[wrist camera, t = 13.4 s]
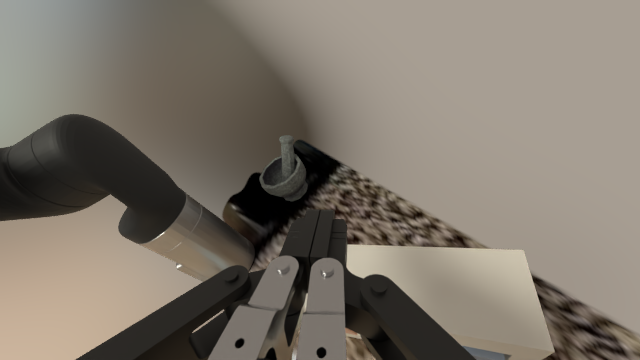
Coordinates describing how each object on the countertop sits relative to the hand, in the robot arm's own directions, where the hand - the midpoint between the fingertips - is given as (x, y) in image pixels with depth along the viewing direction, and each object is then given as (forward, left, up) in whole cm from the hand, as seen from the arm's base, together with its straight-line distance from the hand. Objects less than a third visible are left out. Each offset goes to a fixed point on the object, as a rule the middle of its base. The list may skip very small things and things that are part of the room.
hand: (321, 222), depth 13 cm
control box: (+1, -1, -24) cm, 24 cm away
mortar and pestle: (-3, +32, -24) cm, 40 cm away
